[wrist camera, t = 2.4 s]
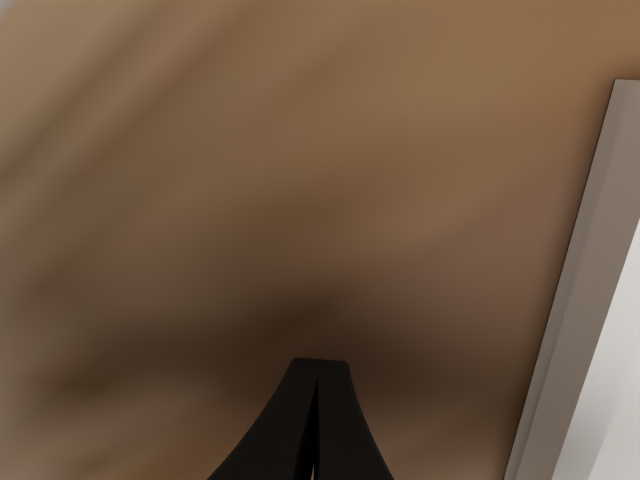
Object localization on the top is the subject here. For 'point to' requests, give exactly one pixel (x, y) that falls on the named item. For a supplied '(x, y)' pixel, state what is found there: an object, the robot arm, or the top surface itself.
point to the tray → (593, 326)
